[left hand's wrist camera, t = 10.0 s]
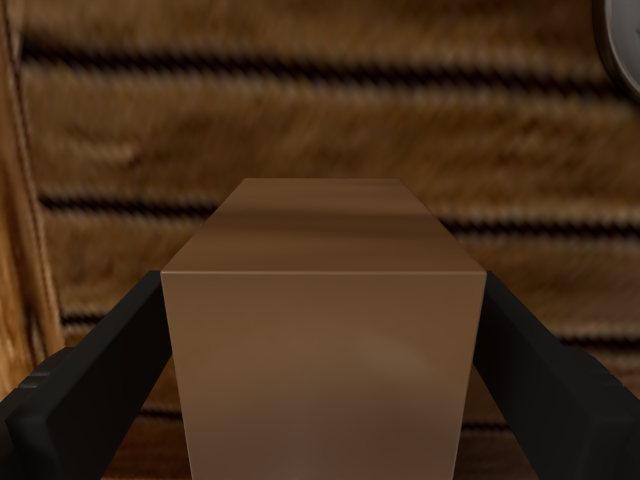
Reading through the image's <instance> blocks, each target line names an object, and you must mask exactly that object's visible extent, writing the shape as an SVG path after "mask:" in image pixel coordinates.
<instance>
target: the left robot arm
mask: <svg viewBox="0 0 640 480" xmlns="http://www.w3.org/2000/svg"><path fill="white" fill-rule="evenodd" d="M592 15H593V25H594V32H595V37H596V42H597V45H598V48H599V51H600V55H601V57H602V59H603V62H604V64H605V66H606V68H607V70H608V71H609V73H610V75H611V76H612V78H613V79H614V81H615V82H616V83H617V84H618V86H619V87H620V88H621V89H622V90H623V91H624V92H625V93H626V94H627V95H628V96H629V97H631V98H632V99H633V100H635V101H636V102H637V103H639V104H640V0H592ZM160 272H161V271H149V272H148V273H147V274H146V275H145V276H144V277H143V278H142V279H141V280H140V281H139V282H138V283H137V284H136V285H135V286H134V287H133V288H132V289H131V290H130V291H129V292H128V293H127V294H126V295H125V296H124V297H123V298H122V299H121V301H120V302H119V303H118V304H117V305H116V306H115V307H114V308H113V309H112V310H111V311H110V312H109V313H108V314H107V315H106V316H105V317H104V318H103V319H102V320H101V321H100V322H99V323H98V324H97V325H96V326H95V327H94V328H93V329H92V330H91V331H90V332H89V333H88V334H87V335H86V337H85V338H84V339H83V340H82V341H81V342H80V343H79V344H78V345H77V346H76V347H65V348H63V349H62V350H60V351H58V352H57V353H55V354H53V355H52V356H50V357H48V358H47V359H45V360H44V361H43V362H42V363H41V364H40V365H39V366H38V367H37V368H36V369H35V370H34V371H32V372H31V375H30V376H27V377H26V378H25V379H24V380H23V381H22V382H21V383H20V384H19V385H18V388H15V389H14V390H13V391H12V392H11V393H10V394H9V395H7V396H6V397H5V398H4V399H3V400H2V401H1V402H0V480H100V479H101V477H102V476H103V474H104V472H105V470H106V469H107V467H108V465H109V463H110V462H111V460H112V458H113V456H114V455H115V453H116V451H117V449H118V448H119V446H120V444H121V442H122V441H123V439H124V437H125V435H126V434H127V432H128V430H129V428H130V427H131V425H132V423H133V421H134V420H135V418H136V416H137V414H138V413H139V411H140V409H141V407H142V406H143V404H144V402H145V400H146V399H147V397H148V395H149V394H150V392H151V390H152V388H153V387H154V385H155V383H156V381H157V380H158V378H159V376H160V374H161V373H162V371H163V369H164V367H165V366H166V364H167V362H168V360H169V359H170V357H171V355H172V353H173V352H172V345H171V339H170V333H169V326H168V320H167V313H166V307H165V301H164V294H163V288H162V281H161V275H160ZM486 272H487V278H486V284H485V290H484V296H483V302H482V308H481V314H480V320H479V326H478V331H477V337H476V343H475V349H474V355H473V361H472V362H473V364H474V366H475V367H476V369H477V371H478V373H479V374H480V376H481V378H482V380H483V381H484V383H485V385H486V387H487V388H488V390H489V392H490V394H491V395H492V397H493V399H494V401H495V402H496V404H497V406H498V408H499V409H500V411H501V413H502V415H503V416H504V418H505V420H506V421H507V423H508V425H509V427H510V428H511V430H512V432H513V434H514V435H515V437H516V439H517V441H518V442H519V444H520V446H521V448H522V449H523V451H524V453H525V455H526V456H527V458H528V460H529V462H530V463H531V465H532V467H533V469H534V470H535V472H536V474H537V476H538V477H539V479H540V480H640V400H639V399H638V398H637V397H636V396H635V395H633V394H632V393H631V392H630V391H629V390H628V389H627V388H626V387H623V386H622V383H621V382H620V381H619V380H618V379H617V378H616V377H615V376H614V375H610V372H609V371H608V370H607V369H606V368H605V367H604V366H603V365H602V364H601V363H600V362H599V361H598V360H597V359H596V358H594V357H593V356H591V355H589V354H588V353H586V352H584V351H583V350H581V349H579V348H578V347H576V346H563V345H562V344H561V343H560V342H559V341H558V340H557V339H556V338H555V337H554V336H553V334H552V333H551V332H550V331H549V330H548V329H547V328H546V327H545V326H544V325H543V324H542V323H541V322H540V321H539V320H538V319H537V318H536V317H535V316H534V315H533V314H532V313H531V312H530V311H529V310H528V309H527V308H526V307H525V306H524V305H523V304H522V303H521V302H520V301H519V300H518V298H517V297H516V296H515V295H514V294H513V293H512V292H511V291H510V290H509V289H508V288H507V287H506V286H505V285H504V284H503V283H502V282H501V281H500V280H499V279H498V278H497V277H496V276H495V275H494V274H493V273H492V272H491V271H486Z"/></svg>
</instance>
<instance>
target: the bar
mask: <svg viewBox="0 0 640 480" xmlns="http://www.w3.org/2000/svg"><path fill="white" fill-rule="evenodd" d="M160 275H161V281H162V288H163V294H164V301H165V307H166V313H167V320H168V326H169V333H170V339H171V345H172V352H173V358H174V365H175V371H176V377H177V384H178V390H179V396H180V403H181V409H182V416H183V422H184V428H185V435H186V441H187V448H188V454H189V460H190V467H191V473H192V480H452V479H453V473H454V468H455V462H456V456H457V450H458V444H459V438H460V432H461V426H462V420H463V414H464V408H465V402H466V397H467V391H468V385H469V379H470V373H471V367H472V361H473V355H474V349H475V343H476V337H477V331H478V326H479V320H480V314H481V308H482V302H483V296H484V290H485V284H486V278H487V272H486V271H485V270H484V269H483V268H482V266H481V265H480V264H479V263H478V262H477V261H476V260H475V259H474V258H473V257H472V256H471V255H470V254H469V253H468V252H467V251H466V249H465V248H464V247H463V246H462V245H461V244H460V243H459V242H458V241H457V240H456V239H455V238H454V237H453V236H452V235H451V234H450V232H449V231H448V230H447V229H446V228H445V227H444V226H443V225H442V224H441V223H440V222H439V221H438V220H437V219H436V218H435V216H434V215H433V214H432V213H431V212H430V211H429V210H428V209H427V208H426V207H425V206H424V205H423V204H422V203H421V202H420V201H419V199H418V198H417V197H416V196H415V195H414V194H413V193H412V192H411V191H410V190H409V189H408V188H407V187H406V186H405V185H404V183H403V182H402V181H401V180H400V179H334V178H245V179H244V180H243V181H242V182H241V184H240V185H239V186H238V187H237V188H236V189H235V190H234V191H233V192H232V193H231V194H230V196H229V197H228V198H227V199H226V200H225V201H224V202H223V203H222V204H221V205H220V207H219V208H218V209H217V210H216V211H215V212H214V213H213V214H212V215H211V216H210V218H209V219H208V220H207V221H206V222H205V223H204V224H203V225H202V226H201V227H200V229H199V230H198V231H197V232H196V233H195V234H194V235H193V236H192V237H191V238H190V239H189V241H188V242H187V243H186V244H185V245H184V246H183V247H182V248H181V249H180V250H179V252H178V253H177V254H176V255H175V256H174V257H173V258H172V259H171V260H170V261H169V263H168V264H167V265H166V266H165V267H164V268H163V269H162V270H161V272H160Z"/></svg>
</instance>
